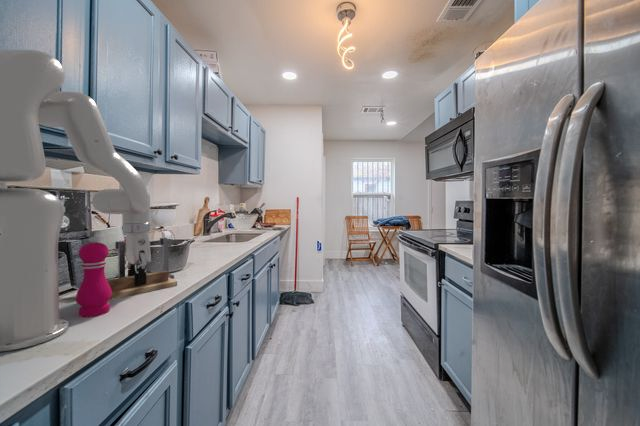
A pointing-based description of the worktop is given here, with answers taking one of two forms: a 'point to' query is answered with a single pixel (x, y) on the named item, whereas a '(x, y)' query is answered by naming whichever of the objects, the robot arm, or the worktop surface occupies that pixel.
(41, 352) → the worktop surface
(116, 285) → the walnut rail
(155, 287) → the oak board
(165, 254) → the hook stands
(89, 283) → the pepper mill
